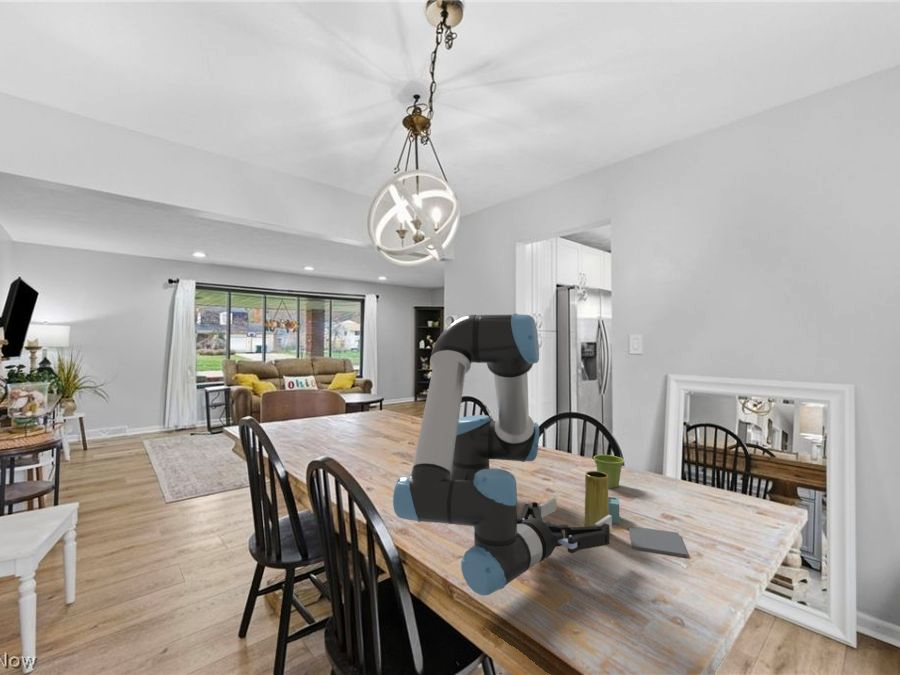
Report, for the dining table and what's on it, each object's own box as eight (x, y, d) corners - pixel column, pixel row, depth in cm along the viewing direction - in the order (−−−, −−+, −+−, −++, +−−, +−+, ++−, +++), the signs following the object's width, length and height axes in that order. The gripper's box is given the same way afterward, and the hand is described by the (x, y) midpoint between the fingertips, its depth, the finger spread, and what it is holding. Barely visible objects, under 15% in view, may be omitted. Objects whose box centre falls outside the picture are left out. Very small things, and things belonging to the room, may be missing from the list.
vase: (609, 529, 102) (609, 471, 102) (610, 540, 96) (610, 479, 96) (584, 525, 104) (583, 469, 104) (583, 536, 98) (583, 476, 98)
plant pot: (619, 480, 138) (618, 455, 139) (628, 490, 129) (628, 463, 129) (590, 479, 139) (590, 454, 140) (597, 489, 130) (597, 462, 130)
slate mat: (632, 548, 92) (632, 545, 92) (628, 528, 102) (628, 525, 102) (687, 557, 88) (687, 554, 88) (678, 535, 99) (678, 532, 99)
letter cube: (598, 521, 107) (598, 501, 107) (598, 513, 111) (598, 494, 112) (619, 524, 105) (619, 503, 105) (618, 516, 110) (618, 497, 110)
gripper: (479, 541, 88) (534, 512, 103) (588, 590, 70) (637, 548, 85) (479, 505, 88) (534, 482, 103) (588, 546, 70) (636, 511, 85)
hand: (581, 512), depth 94 cm, fingers open, 13 cm apart
